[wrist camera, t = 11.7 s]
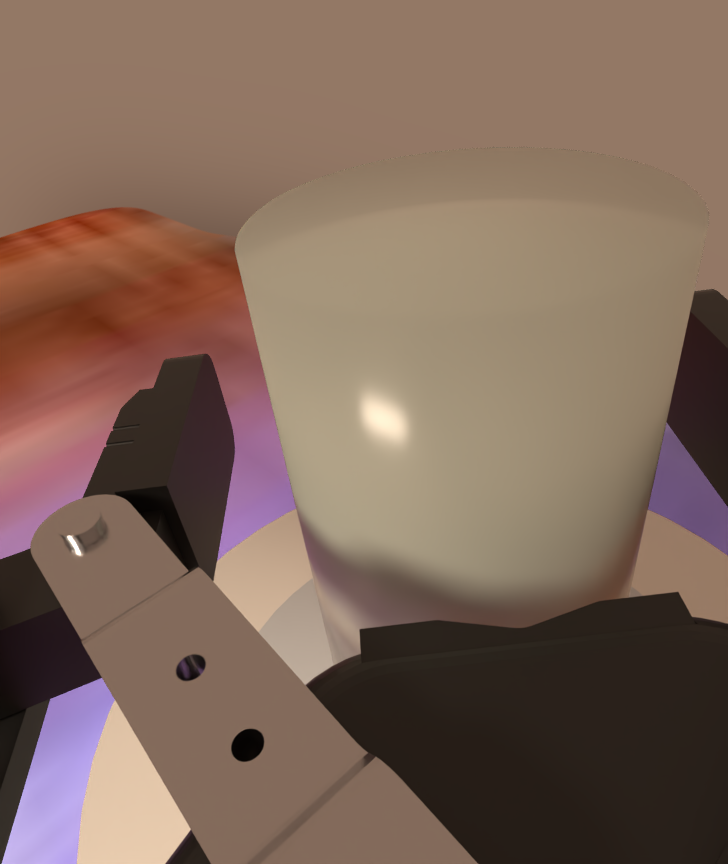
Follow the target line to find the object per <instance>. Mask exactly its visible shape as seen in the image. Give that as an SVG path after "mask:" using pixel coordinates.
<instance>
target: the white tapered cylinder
mask: <svg viewBox="0 0 728 864" xmlns="http://www.w3.org/2000/svg"><path fill="white" fill-rule="evenodd" d="M708 224H709V211H708V209H707V206H706V203H705V201H704V200H703V199H702V197H701V196H700V195H699V194H698V192H697V191H696V190H694V189H693V188H692V187H690V186H689V185H688V184H687V183H686V182H684V181H682V180H680V179H679V178H677V177H675V176H673V175H672V174H669V173H667V172H665V171H662V170H660V169H657V168H655V167H652V166H649V165H646V164H642V163H639V162H636V161H632V160H628V159H624V158H619V157H615V156H610V155H604V154H598V153H592V152H584V151H576V150H566V149H552V148H530V147H529V148H528V147H496V148H473V149H461V150H449V151H440V152H431V153H424V154H417V155H410V156H404V157H399V158H394V159H388V160H383V161H378V162H374V163H369V164H365V165H361V166H357V167H353V168H350V169H346V170H342V171H339V172H336V173H333V174H330V175H327V176H324V177H321V178H319V179H316V180H313V181H310V182H308V183H305V184H303V185H301V186H299V187H296V188H294V189H292V190H290V191H288V192H286V193H284V194H282V195H280V196H279V197H277V198H275V199H273V200H272V201H270V202H269V203H268V204H266V205H264V206H263V207H261V208H260V209H259V210H258V211H257V212H255V213H254V214H253V215H252V216H251V217H250V218H249V219H248V220H247V221H246V223H245V224H244V225H243V226H242V228H241V229H240V231H239V233H238V236H237V238H236V242H235V254H236V258H237V262H238V266H239V270H240V275H241V279H242V283H243V287H244V291H245V296H246V300H247V304H248V308H249V312H250V316H251V321H252V325H253V329H254V333H255V337H256V342H257V346H258V350H259V354H260V358H261V363H262V367H263V371H264V375H265V379H266V384H267V388H268V392H269V396H270V400H271V405H272V409H273V413H274V417H275V421H276V426H277V430H278V434H279V438H280V442H281V446H282V451H283V455H284V459H285V463H286V467H287V472H288V476H289V480H290V484H291V488H292V493H293V497H294V501H295V505H296V509H297V514H298V518H299V522H300V526H301V530H302V535H303V539H304V543H305V547H306V551H307V556H308V560H309V564H310V568H311V572H312V576H313V581H314V585H315V589H316V593H317V597H318V602H319V606H320V610H321V614H322V618H323V623H324V627H325V631H326V635H327V639H328V644H329V648H330V652H331V656H332V660H333V665H335V664H337V663H339V662H341V661H343V660H345V659H347V658H350V657H353V656H355V655H358V654H361V650H360V632H359V629H364V628H373V627H381V626H390V625H398V624H407V623H415V622H424V621H432V620H442V621H452V622H461V623H471V624H481V625H491V626H500V627H510V628H525V627H529V626H532V625H535V624H538V623H540V622H543V621H546V620H549V619H551V618H554V617H557V616H559V615H562V614H565V613H568V612H570V611H573V610H576V609H579V608H581V607H584V606H587V605H589V604H592V603H595V602H598V601H603V600H612V599H620V598H629V594H630V590H631V585H632V580H633V576H634V571H635V566H636V562H637V557H638V552H639V548H640V543H641V538H642V534H643V529H644V524H645V520H646V515H647V510H648V506H649V501H650V496H651V492H652V487H653V482H654V478H655V473H656V468H657V464H658V459H659V454H660V450H661V445H662V440H663V436H664V431H665V426H666V422H667V417H668V412H669V408H670V403H671V398H672V393H673V389H674V384H675V379H676V375H677V370H678V365H679V361H680V356H681V351H682V347H683V342H684V337H685V333H686V328H687V323H688V319H689V314H690V309H691V305H692V300H693V295H694V291H695V286H696V281H697V276H698V272H699V267H700V263H701V258H702V253H703V248H704V244H705V239H706V235H707V230H708Z"/></svg>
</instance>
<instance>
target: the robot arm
mask: <svg viewBox="0 0 728 864" xmlns="http://www.w3.org/2000/svg"><path fill="white" fill-rule="evenodd" d="M667 423H668V425H669V426H670V428H671V429H672V430H673V432H674V433H675V434H676V436H677V437H678V439H679V440H680V441H681V443H682V444H683V446H684V447H685V448H686V450H687V451H688V452H689V454H690V455H691V457H692V458H693V459H694V461H695V462H696V464H697V465H698V466H699V468H700V469H701V470H702V472H703V473H704V475H705V476H706V477H707V479H708V480H709V482H710V483H711V484H712V486H713V487H714V488H715V490H716V491H717V493H718V494H719V495H720V497H721V498H722V500H723V501H724V502H725V504H726V505H727V506H728V300H727V299H726V298H725V297H723V296H722V295H721V294H720V293H719V292H718V291H716V290H714V289H710V290H701V291H694V295H693V300H692V305H691V309H690V314H689V319H688V323H687V328H686V333H685V337H684V342H683V347H682V351H681V356H680V361H679V365H678V370H677V375H676V379H675V384H674V389H673V393H672V398H671V403H670V408H669V412H668V417H667ZM106 445H107V447H104V449H103V452H102V454H101V456H100V459H99V461H98V463H97V466H96V468H95V470H94V473H93V475H92V477H91V480H90V482H89V484H88V487H87V489H86V491H85V494H84V496H83V498H82V499H79V500H76V501H74V502H72V503H69V504H67V505H65V506H64V507H62V508H60V509H59V510H57V511H56V512H54V513H53V514H52V515H50V516H49V517H48V518H47V519H46V520H45V521H44V522H43V523H42V524H41V525H40V526H39V528H38V529H37V531H36V532H35V534H34V536H33V538H32V541H31V546H30V547H31V548H30V549H28V550H25V551H23V552H20V553H17V554H14V555H12V556H9V557H6V558H3V559H0V864H1V863H2V860H3V857H4V853H5V850H6V846H7V843H8V840H9V836H10V833H11V830H12V826H13V823H14V819H15V816H16V813H17V809H18V806H19V803H20V799H21V796H22V792H23V789H24V786H25V782H26V779H27V775H28V772H29V769H30V765H31V762H32V759H33V755H34V752H35V748H36V745H37V742H38V738H39V735H40V732H41V728H42V725H43V721H44V718H45V715H46V711H47V708H48V704H49V701H50V699H51V698H54V697H56V696H58V695H61V694H63V693H66V692H68V691H71V690H73V689H75V688H78V687H80V686H83V685H85V684H88V683H90V682H93V681H95V680H97V679H100V678H103V680H104V682H105V684H106V685H107V687H108V689H109V690H110V692H111V694H112V696H113V697H114V699H115V701H116V702H117V704H118V706H119V707H120V709H121V711H122V713H123V714H124V716H125V718H126V719H127V721H128V723H129V725H130V726H131V728H132V730H133V731H134V733H135V735H136V736H137V738H138V740H139V742H140V743H141V745H142V747H143V748H144V750H145V752H146V754H147V755H148V757H149V759H150V760H151V762H152V764H153V766H154V767H155V769H156V771H157V772H158V774H159V776H160V777H161V779H162V781H163V783H164V784H165V786H166V788H167V789H168V791H169V793H170V795H171V796H172V798H173V800H174V801H175V803H176V805H177V806H178V808H179V810H180V812H181V813H182V815H183V817H184V818H185V820H186V822H187V824H188V825H189V827H190V829H191V830H190V831H189V833H188V834H187V835H186V837H185V838H184V839H183V841H182V842H181V843H180V845H179V846H178V847H177V849H176V850H175V851H174V853H173V854H172V855H171V857H170V858H169V859H168V861H167V862H166V863H165V864H728V624H727V623H723V622H719V621H714V620H709V619H704V618H699V617H692V616H691V614H690V612H689V610H688V609H687V607H686V605H685V603H684V601H683V599H682V598H681V596H680V594H679V592H671V593H663V594H654V595H646V596H637V597H629V598H620V599H612V600H603V601H598V602H595V603H592V604H589V605H587V606H584V607H581V608H579V609H576V610H573V611H570V612H568V613H565V614H562V615H559V616H557V617H554V618H551V619H549V620H546V621H543V622H540V623H538V624H535V625H532V626H529V627H525V628H510V627H500V626H491V625H481V624H471V623H461V622H452V621H442V620H432V621H424V622H415V623H407V624H398V625H390V626H381V627H373V628H364V629H359V632H360V650H361V654H358V655H355V656H353V657H350V658H347V659H345V660H343V661H341V662H339V663H337V664H335V665H333V666H331V667H330V668H328V669H327V670H325V671H324V672H322V673H320V674H319V675H317V676H316V677H314V678H313V679H312V680H311V681H310V682H308V683H307V684H306V685H305V684H304V683H303V682H302V681H301V680H300V679H299V677H298V676H297V675H296V674H295V673H294V672H293V671H292V670H291V668H290V667H289V666H288V665H287V664H286V663H285V662H284V661H283V659H282V658H281V657H280V656H279V655H278V654H277V653H276V652H275V650H274V649H273V648H272V647H271V646H270V645H269V644H268V643H267V641H266V640H265V639H264V638H263V637H262V636H261V635H260V634H259V632H258V631H257V630H256V629H255V628H254V627H253V626H252V625H251V623H250V622H249V621H248V620H247V619H246V618H245V617H244V616H243V614H242V613H241V612H240V611H239V610H238V609H237V608H236V607H235V606H234V604H233V603H232V602H231V601H230V600H229V599H228V598H227V597H226V595H225V594H224V593H223V592H222V591H221V590H220V589H219V588H218V586H217V585H216V584H215V583H214V582H213V581H214V575H215V569H216V563H217V557H218V551H219V546H220V540H221V534H222V528H223V522H224V516H225V510H226V504H227V498H228V492H229V486H230V480H231V474H232V468H233V462H234V455H235V445H234V435H233V429H232V425H231V421H230V418H229V415H228V411H227V408H226V405H225V401H224V398H223V395H222V391H221V388H220V385H219V381H218V378H217V375H216V371H215V368H214V365H213V362H212V360H211V358H210V356H209V355H208V354H201V355H193V356H185V357H177V358H170V359H165V360H164V362H163V364H162V367H161V369H160V372H159V375H158V377H157V380H156V383H155V385H154V388H151V389H143V390H139V391H138V392H137V393H136V394H135V395H134V396H133V397H132V398H131V399H130V400H129V401H128V402H127V403H126V404H125V405H124V406H123V407H122V408H121V410H120V412H119V414H118V417H117V419H116V421H115V424H114V426H113V431H111V433H110V435H109V438H108V440H107V442H106Z"/></svg>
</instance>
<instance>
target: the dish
mask: <svg viewBox="0 0 728 864" xmlns="http://www.w3.org/2000/svg"><path fill="white" fill-rule="evenodd" d="M213 582H214V583H215V584H216V585H217V586H218V588H219V589H220V590H221V591H222V592H223V593H224V594H225V595H226V597H227V598H228V599H229V600H230V601H231V602H232V603H233V604H234V606H235V607H236V608H237V609H238V610H239V611H240V612H241V613H242V614H243V616H244V617H245V618H246V619H247V620H248V621H249V622H250V623H251V625H252V626H253V627H254V628H255V629H256V630H257V631H258V632H259V634H260V635H261V636H262V637H263V638H264V639H265V640H266V641H267V643H268V644H269V645H270V646H271V647H272V648H273V649H274V650H275V652H276V653H277V654H278V655H279V656H280V657H281V658H282V659H283V661H284V662H285V663H286V664H287V665H288V666H289V667H290V668H291V670H292V671H293V672H294V673H295V674H296V675H297V676H298V677H299V679H300V680H301V681H302V682H303V683H304V684H305V685H306V684H307V683H308V682H310V681H311V680H312V679H313V678H314V677H316V676H317V675H319V674H320V673H322V672H324V671H325V670H327V669H328V668H330V667H331V666H333V660H332V656H331V652H330V648H329V644H328V639H327V635H326V631H325V627H324V623H323V618H322V614H321V610H320V606H319V602H318V597H317V593H316V589H315V585H314V581H313V576H312V572H311V568H310V564H309V560H308V556H307V551H306V547H305V543H304V539H303V535H302V530H301V526H300V522H299V518H298V514H297V509H295V510H292V511H290V512H288V513H287V514H285V515H283V516H281V517H280V518H278V519H276V520H275V521H273V522H271V523H269V524H268V525H266V526H264V527H262V528H261V529H259V530H258V531H256V532H255V533H253V534H252V535H251V536H249V537H248V538H246V539H245V540H244V541H242V542H241V543H239V544H238V545H237V546H235V547H234V548H232V549H231V550H230V551H229V552H227V553H226V554H225V555H224V556H223V557H222V558H220V559H219V560H218V561H217V563H216V569H215V575H214V581H213ZM671 592H679V594H680V596H681V598H682V599H683V601H684V603H685V605H686V607H687V609H688V610H689V612H690V614H691V616H692V617H699V618H704V619H709V620H714V621H719V622H723V623H727V624H728V556H727V555H726V554H725V553H723V552H722V551H720V550H719V549H717V548H716V547H715V546H713V545H712V544H710V543H709V542H707V541H706V540H704V539H703V538H701V537H699V536H697V535H696V534H694V533H692V532H690V531H689V530H687V529H685V528H683V527H682V526H680V525H678V524H676V523H675V522H673V521H671V520H669V519H667V518H665V517H663V516H661V515H659V514H657V513H654V512H652V511H650V510H647V515H646V520H645V524H644V529H643V534H642V538H641V543H640V548H639V552H638V557H637V562H636V566H635V571H634V576H633V580H632V585H631V590H630V594H629V597H637V596H646V595H654V594H663V593H671ZM190 830H191V829H190V827H189V825H188V824H187V822H186V820H185V818H184V817H183V815H182V813H181V812H180V810H179V808H178V806H177V805H176V803H175V801H174V800H173V798H172V796H171V795H170V793H169V791H168V789H167V788H166V786H165V784H164V783H163V781H162V779H161V777H160V776H159V774H158V772H157V771H156V769H155V767H154V766H153V764H152V762H151V760H150V759H149V757H148V755H147V754H146V752H145V750H144V748H143V747H142V745H141V743H140V742H139V740H138V738H137V736H136V735H135V733H134V731H133V730H132V728H131V726H130V725H129V723H128V721H127V719H126V718H125V716H124V714H123V713H122V711H121V709H120V707H119V706H118V704H117V702H116V701H114V703H113V705H112V707H111V710H110V712H109V714H108V717H107V720H106V723H105V726H104V729H103V732H102V735H101V737H100V740H99V743H98V746H97V749H96V752H95V755H94V758H93V762H92V766H91V771H90V776H89V780H88V785H87V789H86V794H85V799H84V803H83V808H82V814H81V825H80V835H79V846H78V857H77V864H165V863H166V862H167V861H168V859H169V858H170V857H171V855H172V854H173V853H174V851H175V850H176V849H177V847H178V846H179V845H180V843H181V842H182V841H183V839H184V838H185V837H186V835H187V834H188V833H189V831H190Z"/></svg>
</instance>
